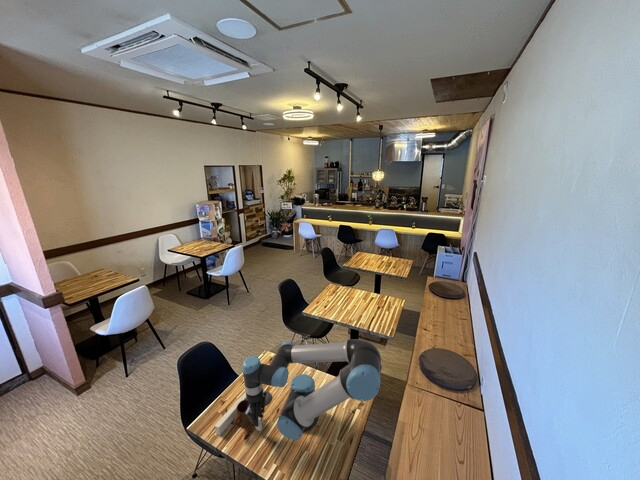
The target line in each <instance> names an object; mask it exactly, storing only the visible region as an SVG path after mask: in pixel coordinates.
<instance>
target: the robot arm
mask: <svg viewBox="0 0 640 480" xmlns="http://www.w3.org/2000/svg"><path fill="white" fill-rule="evenodd" d="M380 353H381V352H380V351H379V349H378V348H377V346H375V345H374V344H373V343H371V342H370V341H368V340H364V339H358V338H355V339H353V338H351V339H346V341H344V342H343V341H342V342H328V343H327V342H326V343H316V344H315V343H314V344H298V345H295V344H294V342H290V341H284V342H282V344H281V345H280V346H279V348H278V349H277V352H275V355H274V356H273V359H272V360H271V362H270V364H267V363H266V364H265V363H261V359H260V358H259V357H258V356H256V355H251V356H248V357H246V358H245V359H244V360H243V362H242V375H243V376H242V377H243V380H244V389H245V392H246V398H247V401H248V409H247V411H246V410H245V411H244V413H245V414H246V415H247V417H248V419H249V421H250V422H251V425H252V424H253V425H254V427H255V430H257V431H259V432H261V430H262V429H263V424H262V423H263V422H262V420H263V418H264V413H265V411H266V410H265V409H266V407H265V406H266V405H265V398H266V393H267V392H265V391H266V390H264V385H265V386H271V387H273V388H284V387H285V386H286V385H287V382H288V379H289V373H290V372H289V369H288V367H289V366H290V364H306V363H307V364H308V363H311V364H312V363H327V362H328V363H333V362H337V363H338V362H347V363H348V364H347V365H345V366H344V367H342V368H341V369H340V370H339V374H338V375H337V376H336V377H334V378H333V379H331V380H330V381H328V382H326V383H325V384H323V385H322V386H320V387H318V388H317V389H316V384H315V379H314V378H313V377H312V376H311V375H309V374H305V373H304V374H303V373H302V374H301V373H300V374H297V375H295V376H294V377H292V379H291V381H290V384H289V385H290V391H289V392H288V396H287V398H286V400H285V402H284V405H283V407H282V409H281V412H280V414H279V416H278V419H277V422H276V426H277V427H276V428H277V430H278V432H279V433H280V434H281V435H282V436H283V437H285V438H287V439H289V440H291V441H299V440H301V438H302V436H303V433H304V432H307V431H310V430H312V429H313V428H315V426H317V423H318V421H319V416H321V415H323V414H325V413H326V412H328V411H330V410H331V409H333V408H335V407H336V406H338V405H340V404H342V403H344V402H345V401H347V400H349V399H352V400H355V401H359V402H361V401H363V402H368V401H370V400H373V399H374V398H376V396H377V395H378V393H379V390H380V385H381V379H382V378H381V363H382V358H381V357H382V356H381V354H380ZM251 409H252V412H251Z"/></svg>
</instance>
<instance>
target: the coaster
mask: <svg viewBox="0 0 640 480" xmlns="http://www.w3.org/2000/svg"><path fill="white" fill-rule="evenodd" d="M264 391H265V392H267V393H266V398H265V406H266V405H268V404H270V402H271V400H272V394H271V392H270V391H268V390H264Z"/></svg>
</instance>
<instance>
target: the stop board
mask: <svg viewBox="0 0 640 480" xmlns="http://www.w3.org/2000/svg"><path fill="white" fill-rule="evenodd" d="M243 400H247V398H246V391H245V392H243V394H242V395H241V396H240V397H239V398H238V399H237V400H236V402H235V403H234V404H233V405H232V406H231V407H230V408H229V409H228V410H227V411H226V412H225V414H224V415H223V416H222V417H221V418H219V420H218V421H217V422H216V424H214V430H215V434H216V435H218V436H222V434H223V433H224V432H225V430H227V428H228V427H229V426H230V424H231V423H233V422H234V420H235V418H236V416H237V405H238V404H239V402H241V401H243Z"/></svg>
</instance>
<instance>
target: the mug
mask: <svg viewBox="0 0 640 480" xmlns="http://www.w3.org/2000/svg"><path fill="white" fill-rule="evenodd" d="M247 409H248V401H247V400H243V401H241V402H239V404H238V405H237V416H236V417H235V419H234V420H233V427H235V428H237V427H241V428H246V427H249V426H250V425H252V423H251V422H250V421H249V419H248V417H247V415H246V414H245V413H244V411H245V410H246V411H247ZM251 412H252V409H251Z"/></svg>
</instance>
